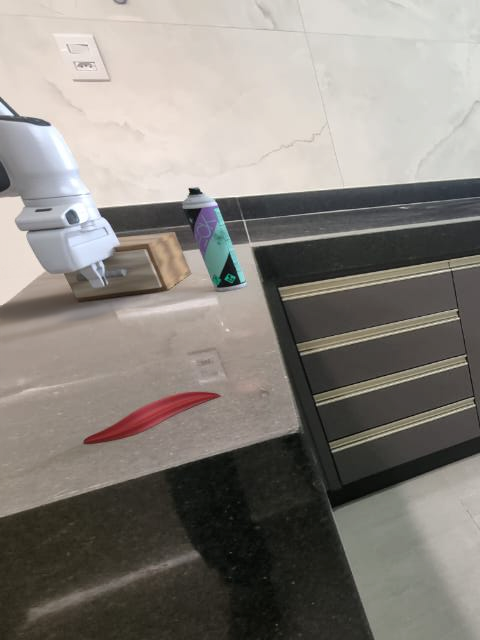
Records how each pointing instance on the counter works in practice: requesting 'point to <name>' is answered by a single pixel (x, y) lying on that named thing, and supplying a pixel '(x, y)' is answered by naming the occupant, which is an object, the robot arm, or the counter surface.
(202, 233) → the spray can
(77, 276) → the drawer
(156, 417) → the cayenne pepper
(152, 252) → the cabinet
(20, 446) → the counter surface
